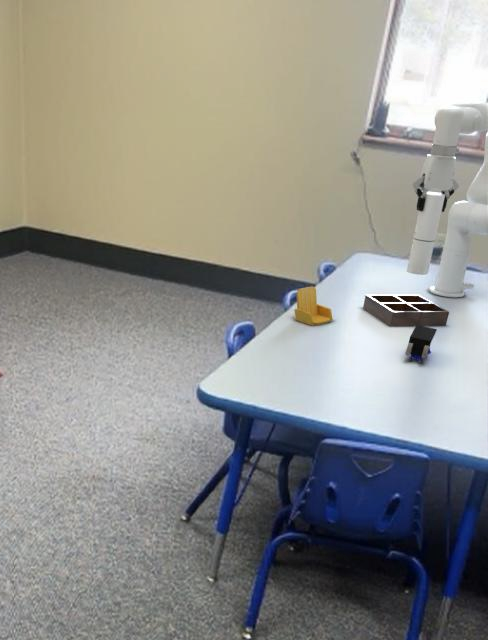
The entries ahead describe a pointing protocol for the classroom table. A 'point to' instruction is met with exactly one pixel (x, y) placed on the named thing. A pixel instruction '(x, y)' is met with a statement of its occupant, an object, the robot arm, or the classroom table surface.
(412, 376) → the classroom table surface
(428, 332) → the figurine character
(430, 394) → the classroom table surface
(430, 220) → the cylindrical container
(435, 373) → the classroom table surface
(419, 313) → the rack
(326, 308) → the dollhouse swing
